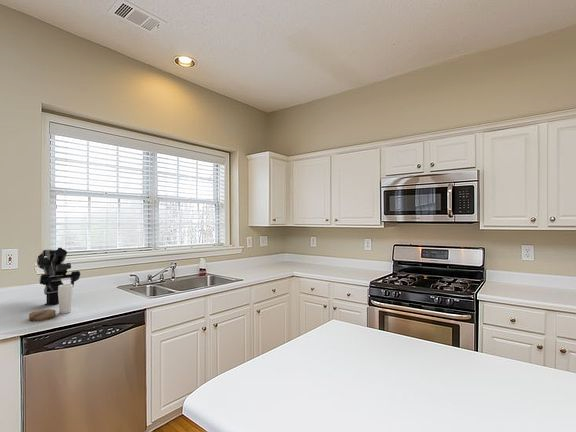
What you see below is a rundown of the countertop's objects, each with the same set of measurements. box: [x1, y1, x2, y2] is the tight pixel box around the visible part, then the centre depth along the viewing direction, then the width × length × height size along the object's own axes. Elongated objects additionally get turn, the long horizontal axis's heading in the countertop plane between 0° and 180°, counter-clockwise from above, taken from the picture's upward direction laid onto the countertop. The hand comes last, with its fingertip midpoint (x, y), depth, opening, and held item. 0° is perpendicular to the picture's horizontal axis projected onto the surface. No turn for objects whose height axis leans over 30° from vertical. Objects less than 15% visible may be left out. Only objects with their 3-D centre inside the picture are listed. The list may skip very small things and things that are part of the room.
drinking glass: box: [58, 283, 74, 315], centre depth 179 cm, size 7×7×15 cm
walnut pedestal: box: [28, 308, 57, 323], centre depth 169 cm, size 11×11×3 cm
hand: (63, 289), depth 182 cm, fingers open, 9 cm apart
